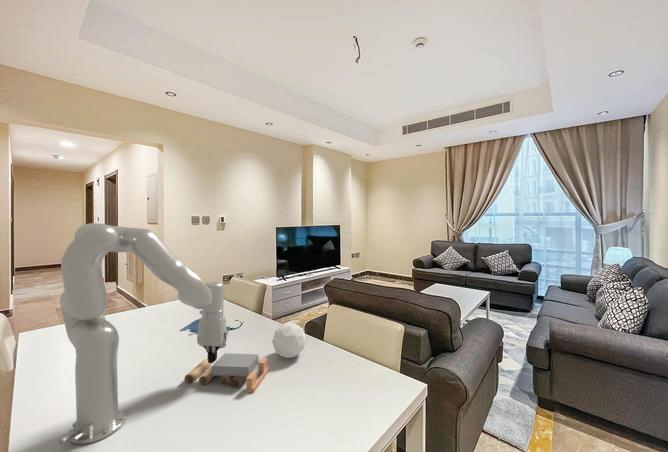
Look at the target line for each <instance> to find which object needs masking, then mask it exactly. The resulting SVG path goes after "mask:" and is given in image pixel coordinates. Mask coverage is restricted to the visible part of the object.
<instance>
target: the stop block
mask: <svg viewBox="0 0 668 452" xmlns="http://www.w3.org/2000/svg"><path fill="white" fill-rule="evenodd" d="M269 372H270V366H268V357H262V358H261V360H259V361H258V376H259V378H258V379H257V372H254V371H252V372H251V373H250V374H249V376H248V377H247V378H246V379H245V380H246V382H245V383H246V387H245V388H246V389H245V390H246V391H245V392H246V393H251V394H252V393H253V394H255V392H256V390H257V389H258V387H259V386H260V384H261V383H262V382H263V380H264V379H265V378H266V376H267V374H269Z"/></svg>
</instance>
